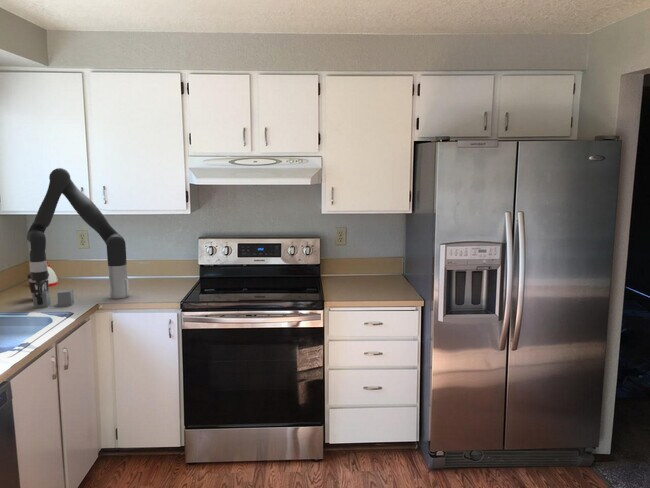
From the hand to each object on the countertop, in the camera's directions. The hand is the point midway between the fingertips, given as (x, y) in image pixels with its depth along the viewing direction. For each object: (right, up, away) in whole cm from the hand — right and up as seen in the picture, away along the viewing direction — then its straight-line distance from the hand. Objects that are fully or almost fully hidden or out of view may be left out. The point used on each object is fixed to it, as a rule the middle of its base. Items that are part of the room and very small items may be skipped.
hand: (42, 303), depth 264 cm
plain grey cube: (0, -2, 0) cm, 2 cm away
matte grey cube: (+11, -1, +3) cm, 11 cm away
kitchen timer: (-24, +5, +48) cm, 54 cm away
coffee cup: (-9, 0, +15) cm, 17 cm away
